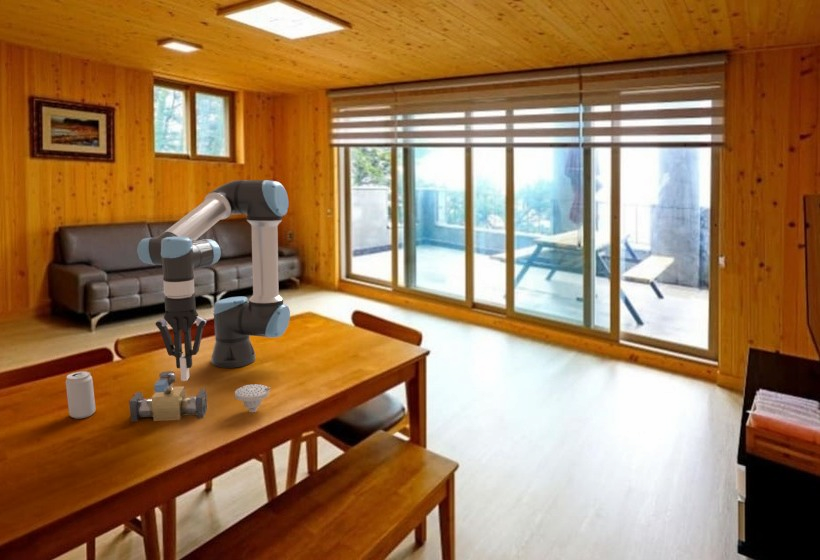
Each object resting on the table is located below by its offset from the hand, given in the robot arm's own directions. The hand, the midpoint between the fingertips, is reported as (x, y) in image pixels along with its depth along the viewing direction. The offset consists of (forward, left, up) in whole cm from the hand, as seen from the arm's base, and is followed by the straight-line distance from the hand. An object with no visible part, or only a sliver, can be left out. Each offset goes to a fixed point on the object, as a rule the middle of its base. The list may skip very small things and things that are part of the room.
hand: (185, 378), depth 151 cm
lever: (-5, -4, -2) cm, 6 cm away
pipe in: (-2, +3, -12) cm, 13 cm away
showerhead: (+9, +15, -12) cm, 22 cm away
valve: (-7, -2, -12) cm, 14 cm away
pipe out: (-11, -6, -12) cm, 18 cm away
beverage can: (-26, -17, -12) cm, 33 cm away
